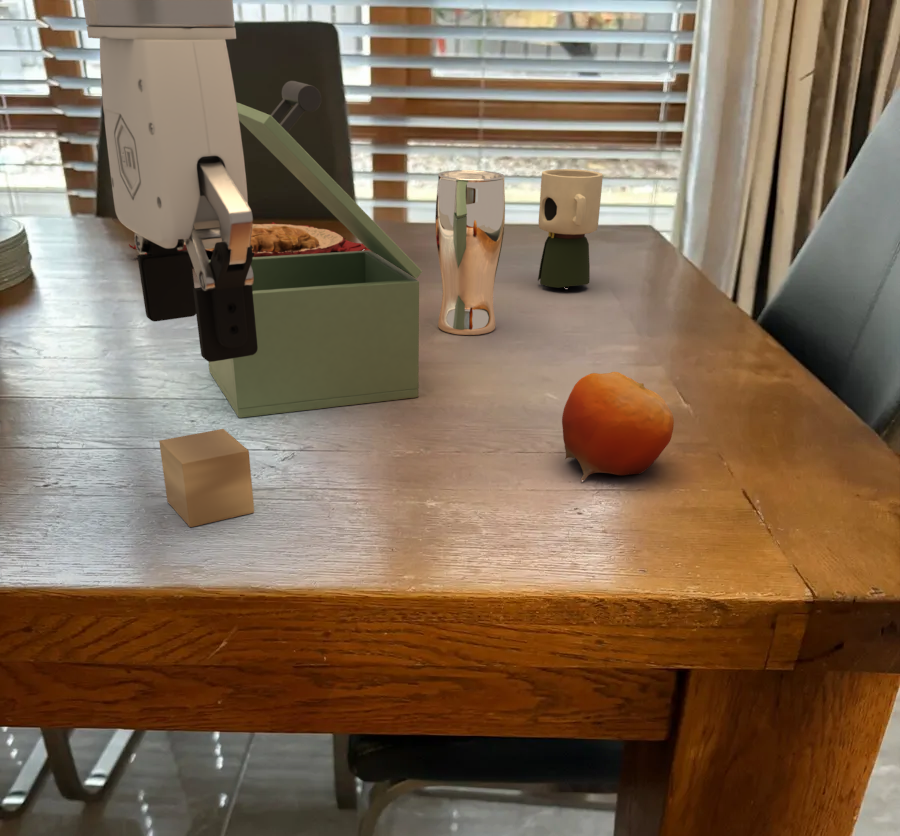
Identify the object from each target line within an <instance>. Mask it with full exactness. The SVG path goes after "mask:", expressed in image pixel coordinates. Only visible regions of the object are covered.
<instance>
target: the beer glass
mask: <svg viewBox="0 0 900 836" xmlns="http://www.w3.org/2000/svg"><path fill="white" fill-rule="evenodd" d="M437 176H438V177H437V187H436V188H437V189H436V198H435V199H436V200H435V201H436V202H435V216H434V217H435V218H434V219H435V220H434V221H435V222H434V223H435V240H436V249H437V256H438V257H437V258H438V263H439V270H440V276H441V285H442V287H441V288H442V289H441V290H442V295H441V296H442V297H441V306H440V310H439V311H440V312H439V316H438V321H437V327H438V328H439V330H441V331H442V332H444V333H448V334H451V335H459V336H478V335H479V336H480V335H485V334H489V333H491V332H493V331H495V329H496V317H495V310H494V309H495V308H494V290H495V289H494V288H495V282H496V276H497V271H498V266H499V262H500V258H501V252H502V247H503V241H504V235H505V234H504V233H505V225H506V224H505V223H506V191H505V190H506V189H505V188H506V187H505V178H506V177H505V175H504V174H503V173H500V172H497V171H496V172H495V171H489V170H479V169H477V170H475V169H454V170H445V171H441V172H439V173H438V174H437Z"/></svg>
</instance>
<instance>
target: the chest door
mask: <svg viewBox="0 0 900 836" xmlns="http://www.w3.org/2000/svg"><path fill="white" fill-rule="evenodd" d="M281 98H282V100H281V101H280V102H279V104H278V105H277V106H276V107H275V108H274V109H273V110H272V112H271V113H270V114H267V113H266V112H263V111H260V110H258V109H255V108H253V107H250V106H247V105H245V104H242V103H240V102H237V101H236V104H237V110H238V117H239V123H241V124H242V126H244V127H245V128H246V129H247V130H248V131H249V132H250V133H251V134H252V135H253V136H254V137H255V138H256V139H257V140H258V141H259V142H260V143H261V144H262V145H263V146H264V147H265V148H266V149H267V150H268V151H269V152H270V153H271V154H272V155H273V156H274V157H275V158H276V159H277V160H278V161H279V162H280V163H281V164H282V165H283V166H284V167H285V168H286V169H287V170H288V171H289V172H290V173H291V174H292V175H293V176H294V177H295V178H296V179H297V180H298V181H299V182H300V183H301V184H302V185H303V186H304V187H305V188H306V189H307V190H308V191H309V192H310V193H311V194H312V195H313V196H314V197H315V198H316V199H317V200H318V201H319V202H320V204H322V205H323V206H324V207H325V208H326V209H327V210H328V211H329V212H330V213H331V214H332V215H333V216H334V217H335V218H336V219H337V220H338V221H339V222H340V223H341V224H342V225H343V226H344V227H345V228H346V229H347V230H348V231H349V232H350V233H351V234H352V235H353V236H354V237H356V239H357V240H358V241H359V243H362V244H363V245H364V246H365V247H366V248H368V249H369V250H371V251H372V252H373V253H375V254H377V255H378V256H380V257H381V258H383V259H384V260H386V261H388V262H389V263H391V264H392V265H394V266H396V267H397V268H399V269H400V270H402V271H404V272H405V273H407V274H408V275H410V276H411V277H413V278H415V279H416V280H418V277H419V276H420V275H421V274H422V273H423V271H422V269H421V268H420V267H419V266H418V265H417V264H416V263H415V262H414V261H413V260H412V259H411V258H410V257H409V256H408V255H407V254H406V253H405V252H404V251H403V250H402V248H400V246H399V245H398V244H397V243H396V242H394V240H393V239H392V238H391V237H390V236H389V235H388V234H386V233H387V232H385V231H384V230H383V229H382V228H381V227H380V226H379V225H378V224H377V223H376V222H375V221H374V220H373V218H371V217H370V216H369V215H368V214H367V212H366V211H365V210H363V208H362V207H360V206H359V204H358V203H357V202H356V201H355V200H354V199H353V198H352V197H351V196H350V195H349V194H348V193H347V192H346V191H345V190H344V189H343V188H342V187H341V186H340V185H339V184H338V182H337V181H335V180H334V179H333V178H332V176H330V175H329V173H327V172H326V170H325V169H324V168H323V167H322V166H321V165H320V164H319V163H318V162H317V161H316V160H315V159H314V158H313V157H312V156H311V155H310V154H309V153H308V152H307V151H306V150H305V149H304V147H302V146H301V144H299V143H298V142H297V140H296V139H295V138H294V137H292V135H291V134H290V133H289V132H290V131H291V129H293V127H294V126H295V124H297V122H298V121H299V119H300V118H301V117H302V116H303V114H304V113H305V112H306V113H307V112H308V113H313V112H315V111H317V110H318V109H319V108H320V105H321V104H322V95H321V92H320V90H319V89H318V88H317V87H315V86H314V85H311V84H308V83H304V82H300V81H296V80H289V81H287V82H285V83H284V85H283V86H282V88H281Z"/></svg>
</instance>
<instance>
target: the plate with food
mask: <svg viewBox="0 0 900 836" xmlns="http://www.w3.org/2000/svg"><path fill="white" fill-rule="evenodd" d="M250 245H252V247H253V249H252V253H253V252H254V256H253V257H267V256H283V255H300V254H317V253H334V252H351V251H362V250H363V249H365V250H364V251H367V250H369V249H368V248H366V247H365V246H364V245H363V244H362V243H361V242H354V241H349V240H347V239H346V237H343V236H342V235H341V234H339V233H337V232H336V231H334V230H331V229H326V228H318V227H315V226H310V225H309V224H308V225H305V224H303V225H302V224H300V225H296V224H291V223H290V224H289V223H288V224H287V223H286V224H285V223H284V224H283V223H275V222H274V221H272V222H271V223H253V226H252V235H251V244H250ZM128 246H129V248H131V249H132V250H135V251H137V249H136V246H135V245H131V244H130V243H128ZM183 250H187V247H186V245H185V242H184V247H183V249H181V250H178V251H183ZM213 250H214V248H211V249H205V251H206V252H211V253H213ZM370 251H371V250H370ZM145 254H147V253H144V255H145Z"/></svg>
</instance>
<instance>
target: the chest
mask: <svg viewBox="0 0 900 836" xmlns="http://www.w3.org/2000/svg"><path fill="white" fill-rule="evenodd" d="M210 261H211V259H209V262H210ZM251 267H252V270H253V275H254V282H253V285H252V291H253V302H254V313H255V324H256V335H257V346H258V350H257V352H256V353H255V354H254V355H250V356H244V357H238V358H232V359H226V360H220V361H214V362H209V361H207V362H208V371H209V373H210V375H211V376H212V378H213V379H214V381H215V383H216V384H217V386H218V388H219V389H220V390H221V392H222V394H223V395H224V397H225V398H226V400H227V401H228V404H229V405H230V407H231V408H232V410H233V411H234V413H235V414H236V416H237V418H238V419H242V418H249V417H259V416H266V415H267V416H268V415H276V414H285V413H293V412H302V411H311V410H319V409H328V408H336V407H337V408H338V407H344V406H345V407H346V406H356V405H363V404H371V403H379V402H387V401H389V402H390V401H398V400H405V399H416V398H419V386H420V385H419V382H420V381H419V380H420V379H419V378H420V377H419V376H420V375H419V372H420V371H419V370H420V369H419V368H420V365H419V363H420V359H419V358H420V280H418V279H415V278H414V277H412V276H410V275H409V274H407V273H406V272H404V271H403V270H401V269H399V268H398V267H396V266H395V265H393V264H391V263H390V262H388V261H387V260H385V259H384V258H382V257H380V256H379V255H377V254H376V253H374V252H372V251H370V250H367V251H351V252H334V253H317V254H300V255H283V256H267V257H253V259H252V263H251Z"/></svg>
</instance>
